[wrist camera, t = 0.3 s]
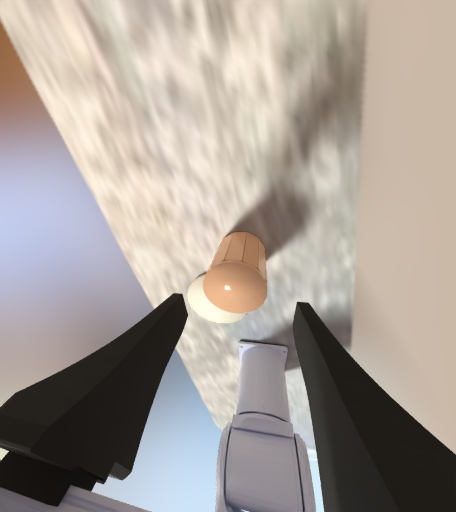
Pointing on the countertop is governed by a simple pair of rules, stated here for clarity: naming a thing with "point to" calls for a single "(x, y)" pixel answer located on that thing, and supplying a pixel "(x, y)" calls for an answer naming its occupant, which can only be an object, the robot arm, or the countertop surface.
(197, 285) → the dish
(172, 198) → the countertop surface
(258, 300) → the cup
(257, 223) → the countertop surface
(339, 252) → the countertop surface
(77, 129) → the countertop surface
